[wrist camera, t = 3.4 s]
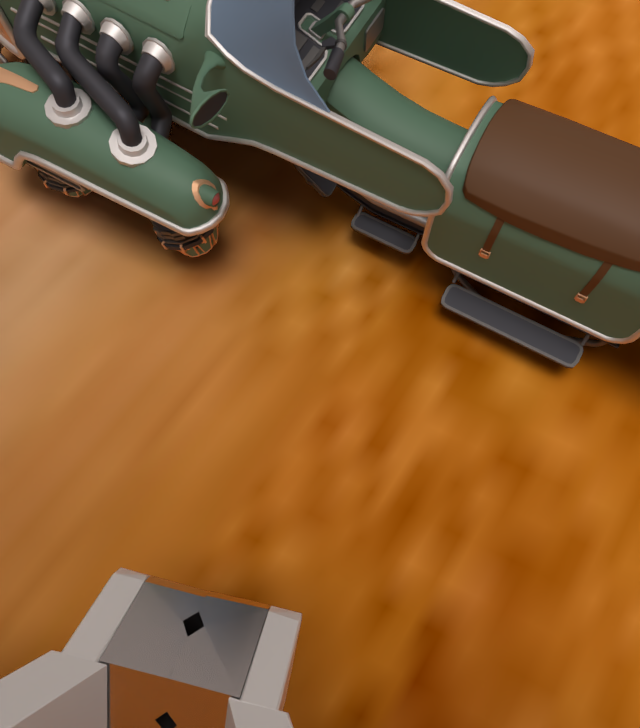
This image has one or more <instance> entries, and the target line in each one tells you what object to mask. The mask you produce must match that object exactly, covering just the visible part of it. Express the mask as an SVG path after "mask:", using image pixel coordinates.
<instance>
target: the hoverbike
mask: <svg viewBox="0 0 640 728" xmlns="http://www.w3.org/2000/svg"><path fill="white" fill-rule="evenodd" d="M375 44H378V45H380V46H383V47H385V48H388V49H390V50H393V51H395V52H398V53H400V54H403V55H405V56H408V57H410V58H413V59H415V60H418V61H420V62H423V63H425V64H427V65H430V66H432V67H435V68H437V69H440V70H442V71H445V72H447V73H450V74H452V75H455V76H457V77H460V78H462V79H465V80H467V81H470V82H472V83H475V84H477V85H483V86H490V87H499V86H507V85H510V84H514V83H517V82H520V81H521V80H522V79H523V77H524V76H525V75H526V73H527V72H528V71H529V69H530V68H531V66H532V63H533V57H534V49H533V47H532V46H531V45H530V43H529V42H528V41H527V39H526V38H525V37H524V36H523V35H522V34H520V33H519V32H517V31H516V30H515V29H513V28H512V27H510V26H509V25H507V24H504V23H502V22H500V21H498V20H495V19H493V18H491V17H489V16H487V15H484V14H482V13H480V12H478V11H475V10H473V9H471V8H469V7H466V6H464V5H462V4H460V3H458V2H455V1H453V0H0V162H2V163H4V164H6V165H8V166H9V167H11V168H13V169H17V170H20V169H21V168H22V167H23V166H24V165H25V163H26V164H28V165H30V166H32V167H34V168H36V169H37V171H38V174H39V177H40V178H41V179H42V180H43V181H44V182H43V183H44V185H45V187H46V188H50V189H53V190H56V191H60V192H62V193H64V194H65V195H68V196H70V197H79V196H81V195H84V196H86V195H88V194H89V193H91V192H92V191H94V192H96V193H98V194H100V195H102V196H104V197H106V198H108V199H110V200H112V201H114V202H116V203H118V204H120V205H122V206H124V207H126V208H128V209H130V210H132V211H134V212H136V213H138V214H140V215H142V216H144V217H146V218H149V220H150V222H151V223H152V224H153V226H154V228H153V229H154V231H155V233H156V234H157V239H158V240H159V241H160V242H161V245H162V246H163V247H164V249H166V250H167V249H169V250H178V251H179V252H181V253H183V254H184V255H186V256H190V257H198V256H200V255H203V254H206V253H207V252H209V251H210V250H211V249H212V247H213V246H214V244H216V243H217V240H218V226H219V223H220V222H221V221H222V220H223V219H224V217H225V215H226V213H227V211H228V208H229V201H230V196H229V192H228V188H227V185H226V183H225V182H224V181H223V180H222V179H221V178H219V177H217V176H216V175H215V174H214V173H213V172H212V171H211V170H210V169H209V168H208V167H207V166H206V165H205V164H203V163H202V162H201V161H199V160H198V159H196V158H195V157H194V156H192V155H191V154H189V153H188V152H186V151H185V150H183V149H182V148H180V147H179V146H177V145H176V144H174V143H173V142H171V141H170V140H168V138H169V133H170V128H171V123H172V121H173V122H175V123H177V124H179V125H181V126H183V127H185V128H187V129H189V130H191V131H193V132H195V133H196V134H198V135H200V136H202V137H204V138H206V139H211V140H218V141H225V142H232V143H239V144H244V145H250V146H254V147H257V148H259V149H262V150H264V151H267V152H269V153H271V154H274V155H276V156H278V157H280V158H283V159H285V160H287V161H289V162H291V163H294V166H295V168H296V169H297V171H298V172H299V173H300V174H301V175H302V176H303V177H304V178H305V181H306V183H307V184H308V185H310V186H312V187H313V188H314V189H315V190H316V191H317V192H318V193H319V194H320V195H321V196H322V197H328V196H330V195H331V194H332V192H333V191H334V189H335V188H336V186H337V187H338V188H339V189H341V190H342V191H343V192H344V193H346V194H347V195H349V196H350V197H351V198H353V199H354V200H355V201H357V202H358V203H360V204H361V205H360V208H359V210H358V212H357V214H356V215H355V216H354V218H353V219H352V222H351V227H352V228H353V230H355V231H357V232H359V233H361V234H363V235H365V236H367V237H369V238H371V239H373V240H375V241H378V242H380V243H382V244H384V245H386V246H388V247H390V248H392V249H394V250H396V251H398V252H400V253H402V254H410V253H411V252H412V251H413V250H414V248H415V246H416V244H417V241H418V239H419V237H420V235H422V236H423V237H422V241H421V244H422V247H423V250H424V251H425V252H426V253H427V255H428V256H429V257H431V258H432V259H433V260H435V261H436V262H438V263H440V264H443V265H445V266H447V267H449V268H451V271H452V273H453V275H454V278H453V280H452V282H453V283H456V281H457V280H458V281H459V282H460V283H461V284H462V285H463V286H464V287H465V288H463V287H461V286H459V285H456V284H451V285H449V286H448V287H447V289H446V290H445V292H444V294H443V296H442V298H441V305H442V306H443V307H444V308H445V309H447V310H449V311H451V312H453V313H455V314H457V315H459V316H461V317H463V318H465V319H468V320H470V321H472V322H474V323H476V324H478V325H480V326H482V327H484V328H486V329H488V330H490V331H492V332H494V333H496V334H498V335H500V336H502V337H504V338H507V339H509V340H511V341H513V342H515V343H517V344H519V345H521V346H523V347H525V348H527V349H529V350H531V351H533V352H535V353H537V354H539V355H541V356H543V357H546V358H548V359H550V360H552V361H554V362H556V363H558V364H560V365H562V366H564V367H566V368H573V367H574V366H575V365H576V364H577V363H578V362H579V360H580V358H581V356H582V353H583V346H590V347H600V346H603V345H605V344H609V345H611V346H613V347H615V348H618V347H619V345H620V344H626V343H631V342H634V341H635V340H637V339H638V338H639V337H640V148H639V147H637V146H634V145H632V144H629V143H627V142H624V141H622V140H619V139H617V138H614V137H612V136H609V135H607V134H604V133H602V132H599V131H597V130H594V129H592V128H589V127H587V126H584V125H582V124H579V123H577V122H574V121H572V120H569V119H567V118H564V117H561V116H559V115H556V114H553V113H551V112H548V111H545V110H543V109H540V108H537V107H534V106H532V105H529V104H526V103H524V102H521V101H518V100H516V99H509V100H507V101H506V102H505V103H504V104H503V103H500V102H498V101H497V99H496V97H495V96H491V97H490V98H489V99H488V100H487V102H486V103H485V104H484V106H483V107H482V109H481V110H480V111H479V113H478V115H477V116H476V118H475V120H474V121H473V123H472V125H471V126H470V128H469V130H468V129H465V128H463V127H461V126H459V125H457V124H454V123H452V122H450V121H448V120H446V119H444V118H442V117H440V116H438V115H436V114H434V113H432V112H430V111H428V110H426V109H424V108H423V107H421V106H420V105H418V104H416V103H415V102H413V101H411V100H410V99H408V98H407V97H405V96H403V95H402V94H400V93H399V92H398V91H396V90H395V89H394V88H392V87H391V86H390V85H388V84H387V83H386V82H384V81H383V80H381V79H380V78H379V77H377V76H376V75H375V74H374V73H372V72H371V71H370V70H369V69H368V68H366V67H365V66H364V65H363V64H361V62H362V61H363V59H364V58H365V57H366V56H367V55H368V53H369V52H370V51H371V49H372V48H373V46H374V45H375ZM4 46H5V47H6V48H7V49H8V50H9V51H10V52H12V53H13V54H14V55H16V56H17V57H18V58H20V59H23V61H24V63H21V62H10V63H9V62H8V60H7V59H6V58H5V57H4V56H3V55H2V54H1V49H2V48H3V47H4ZM57 61H58V62H60V63H61V65H62V67H63V68H62V67H61V66H60V65H59V63H58V62H57ZM63 69H64V70H63ZM75 80H76V81H77V82H78V83H79V84H80V85H79V84H77V83H76V81H75ZM117 92H118V93H120V94H121V95H122V96H123V97H124V98H125V99H126V100H127V101H128V102H129V104H128V103H127V102H126V101H125V100H124V99H123V98H122V97H121V96H120V95H119V94H118V93H117ZM143 121H144V122H143ZM142 122H143V123H142ZM46 184H47V185H46ZM364 207H365V208H367V209H368V210H369V211H371V212H372V213H375V214H377V215H379V216H381V217H383V218H385V219H388V220H390V221H392V222H394V223H396V224H398V225H401V226H403V227H405V228H407V229H409V230H411V231H414V232H416V233H417V235H416V237H415V236H414V235H411V234H409V233H407V232H405V231H403V230H401V229H399V228H397V227H395V226H392V225H390V224H388V223H386V222H384V221H382V220H380V219H378V218H375V217H373V216H371V215H369V214H367V213H365V212H362V210H363V208H364ZM165 246H166V247H165ZM461 274H462V275H465V276H467V277H469V278H471V279H473V280H475V281H477V282H479V283H481V284H483V285H485V286H488V287H490V288H492V289H494V290H496V291H498V292H500V293H502V294H504V295H506V296H508V297H511V298H513V299H515V300H517V301H519V302H521V303H523V304H525V305H527V306H529V307H531V308H534V309H536V310H538V311H540V312H542V313H544V314H546V315H548V316H550V317H552V318H554V319H557V320H559V321H561V322H563V323H565V324H567V325H569V326H571V327H573V328H575V329H577V330H579V331H582V332H584V333H586V335H585V337H584V338H578V337H572V336H565V335H562V334H560V333H558V332H556V331H554V330H551V329H549V328H547V327H545V326H543V325H541V324H539V323H537V322H535V321H533V320H531V319H528V318H526V317H524V316H522V315H520V314H518V313H516V312H514V311H512V310H510V309H507V308H505V307H503V306H501V305H499V304H497V303H495V302H493V301H491V300H489V299H486V298H484V297H482V296H481V295H480V294H479V293H478V292H477V291H476V290H475V289H474V288H473V287H472V286H471V284H470V283H469V282H468V281H467V280H466V279H465V278H464V277H463V276H462V275H461ZM590 336H592V337H594V338H596V339H598V340H591V339H589V337H590ZM582 345H583V346H582Z"/></svg>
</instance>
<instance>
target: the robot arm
mask: <svg viewBox="0 0 640 728" xmlns="http://www.w3.org/2000/svg"><path fill="white" fill-rule="evenodd" d="M301 621H302V613H299V612H295V611H291V610H286V609H282V608H278V607H274V606H271V605H268V604H264V603H260V602H255V601H251V600H247V599H243V598H238V597H234V596H230V595H226V594H222V593H217V592H213V591H210V592H209V591H205V590H202V589H198V588H195V587H191V586H188V585H184V584H180V583H177V582H173V581H170V580H166V579H163V578H159V577H155V576H152V575H147V574H143V573H140V572H136V571H132V570H128V569H125V568H120V569H118V570H117V571H116V572H115V573H114V574H112V576H111V577H110V579H109V580H108V582H107V583H106V585H105V586H104V588H103V589H102V591H101V592H100V594H99V596H98V597H97V599H96V600H95V602H94V603H93V605H92V606H91V608H90V609H89V611H88V612H87V614H86V615H85V617H84V618H83V620H82V621H81V623H80V624H79V626H78V627H77V629H76V630H75V632H74V633H73V635H72V637H71V638H70V640H69V641H68V643H67V644H66V646H65V647H64V649H63V650H62V652H58V651H54V650H51V651H49V652H47V653H46V654H44V655H42V656H40V657H39V658H37V659H35V660H33V661H32V662H30V663H28V664H26V665H25V666H23V667H21V668H19V669H18V670H16V671H14V672H12V673H11V674H9V675H7V676H5V677H3V678H2V679H0V728H293V725H292V722H291V719H290V716H289V713H287V712H283V708H284V704H285V700H286V695H287V690H288V685H289V680H290V676H291V671H292V666H293V661H294V656H295V651H296V646H297V641H298V636H299V631H300V626H301Z"/></svg>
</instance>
